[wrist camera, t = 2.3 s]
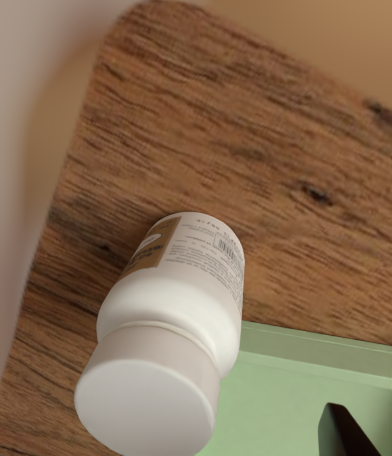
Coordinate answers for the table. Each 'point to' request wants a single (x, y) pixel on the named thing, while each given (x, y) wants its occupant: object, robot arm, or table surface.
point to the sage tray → (299, 392)
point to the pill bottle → (166, 340)
